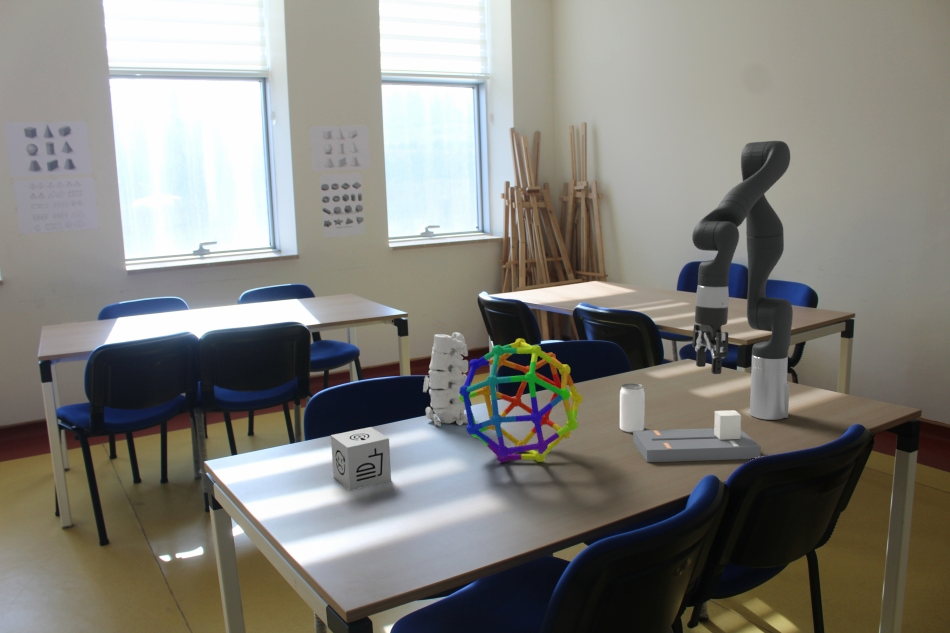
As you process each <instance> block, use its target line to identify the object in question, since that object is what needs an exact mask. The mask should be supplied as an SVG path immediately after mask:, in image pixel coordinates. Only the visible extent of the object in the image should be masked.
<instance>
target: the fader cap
mask: <svg viewBox="0 0 950 633" xmlns="http://www.w3.org/2000/svg"><path fill="white" fill-rule="evenodd" d="M713 422H714V426H713V428H714V435H715V436H717V437H718V438H719V439H720V440H723V439H740V431H741V430H742V428H741V424H742V415H741V414H740V413H739V412H738V411H736V410H735V409H734V410H733V409H731V410H714V421H713Z"/></svg>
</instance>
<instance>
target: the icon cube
mask: <svg viewBox="0 0 950 633" xmlns="http://www.w3.org/2000/svg"><path fill="white" fill-rule="evenodd" d="M330 444H331V455H332V456H331V459H332V460H331V461H332V474H333V475H332V476H333V478H334V479H336V480H337V481H338V482H339V483H340V484H341V485H343V486H344V487H345V488H346V489H347V490H348V491H355V490H359V489H363V488H366V487H367V488H368V487H370V486H374V485H378V484H382V483H386V482H391V481H392V473H391V472H392V470H391V453H390V450H391V449H390V438H389V437H387V436H386V435H384V434H382V433H381V432H380V431H378V430H377V429H374V428H373V427H372V426H370V427H365V428H360V429H359V428H358V429H355V430H350V431H349V430H348V431H345V432H341V433H335V434H331V435H330Z"/></svg>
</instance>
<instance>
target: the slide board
mask: <svg viewBox="0 0 950 633" xmlns="http://www.w3.org/2000/svg"><path fill="white" fill-rule="evenodd" d="M632 443H633V444H634V445H635V447H636V448H637V450H638V451H639V454H641V456H642V458H643V459H644V460H645V462H646V463H660V462H661V463H663V462H664V463H665V462H666V463H667V462H693V461H695V462H697V461H698V462H699V461H700V462H701V461H720V460H721V461H722V460H723V461H726V460H728V461H729V460H731V461H732V460H752V459H751V458H754V457H758V456H760V457H761V453H762V452H761V450H762V449H761V447H762V446H761V445H760V444H758V443H757V442H756V441H755V440H754V439H753V438H751V437H750V436H749V435H748V434H747V433H746V432H744V430H742V429H741V431H740V439H723V440H720V439H719V438H718V437H717V436H715V435H714V427H713V428H681V429H680V428H678V429H651V430H649V429H648V430H647V429H646V430H645V429H644V430H643V431H633V433H632Z"/></svg>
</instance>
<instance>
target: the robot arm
mask: <svg viewBox="0 0 950 633" xmlns="http://www.w3.org/2000/svg"><path fill="white" fill-rule="evenodd" d="M790 164H791V149H790V148H789V145H788V144H787V143H786V142H784V141H781V140H769V141H768V140H767V141H754V142H748V143H746V144H745V145H744V146H743V148H742V150H741V156H740V170H741V178H742V182H740V183H738V184H737V185H735V186H734V187H732V188H731V189H730V190H729V191H728V192H727V193H726V194H725V195H724V197H723V199H721V201H720V203H719V204H718V205H717V207H715V208H714V209H713V210H711V211H710V212H709V213H707V214H706V215H705V216H704V217H703V218H702V219H700V221H698V222H697V224H696V225H695V227H694V229H693V231H692V235H691V238H692V244H693V245H694V246H695V248H697V250H700V251H706V252H707V251H711V252H712V251H713V252H717V253H716V255H715V257H714V259H710V260H705V261H701V262H700V263H699V265H698V266H699V267H698V273H697V275H698V276H697V287H696V288H697V289H696V292H695V310H694V312H695V313H694V322H695V324H694V325H693V331H692V332H693V333H692V342H691V343H692V348H694V350H695V352H696V357H695V358H696V360H695V361H696V362H695V366H696V367H698V368H704V367H706V364H707V350H709V351H710V354H711V368H710V369H711V374H713V375H721V374H722V367H723V359H725V358H728V356H729V353H728V352H729V332H728V331H722V326H725V325H727V324H728V315H729V300H730V298H729V297H730V294H729V283H730V282H729V278H730V268H731V265H732V262H733V258H734V255H735V253H736V250H737V246H738V245H739V239H740V231H739V228H738V227H740V226H741V225H742V224H743V223H744V221H745V220H746V222H745V223H746V226H745V227H746V228H745V229H746V230H745V231H746V234H745V235H746V250H747V270H748V271H747V277H748V278H747V279H748V281H747V283H748V284H747V296H746V298H747V303H746V318H747V323H748V326H749V327H750V328H751V329H753V330H756V331H763V332H771V336H770V339H768V340H764V341H760V342H756V343H754V344H753V346H752V349H751V372H750V373H751V374H750V376H751V377H750V397H749V398H750V400H749V414H750V416H752V417H754V418H757V419H762V420H770V421H775V420H782V419H784V418H785V419H786V418H787V419H788V418H789V406H790V387H791V386H790V384H789V382H788V363H789V362H788V359H789V349H790V344H791V338H792V337H791V335H792V326H793V316H794V312H793V306H792V303H791V302H790V300H788V299H786V298H779V297H778V298H776V297H766V296H767V295H766V290H767V289H766V288H767V283H768V282H767V281H768V279H769V277H770V275H771V273H772V271H773V270H774V269H775V268H776V267H775V266H776V265H777V264H778V263H779V261H780V260H781V258H782V255H783V253H784V249H785V248H784V247H785V246H784V245H785V244H784V238H785V236H784V226H783V225H784V224H783V223H782V220H781V219H780V217H779V216H778V214H777V212H776V211H775V209H774V208H773V206H771V204H770V203H769V201H768V200H767V197H766V195H765V194H766V193H767V192H768V190H770V188H772V187H773V186H774V185H775V184H776V182H778V181H779V180H780V179H781V178H782V177H783V176H784V175H785V173H786V172H787V171H788V168H789V167H790Z"/></svg>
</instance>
